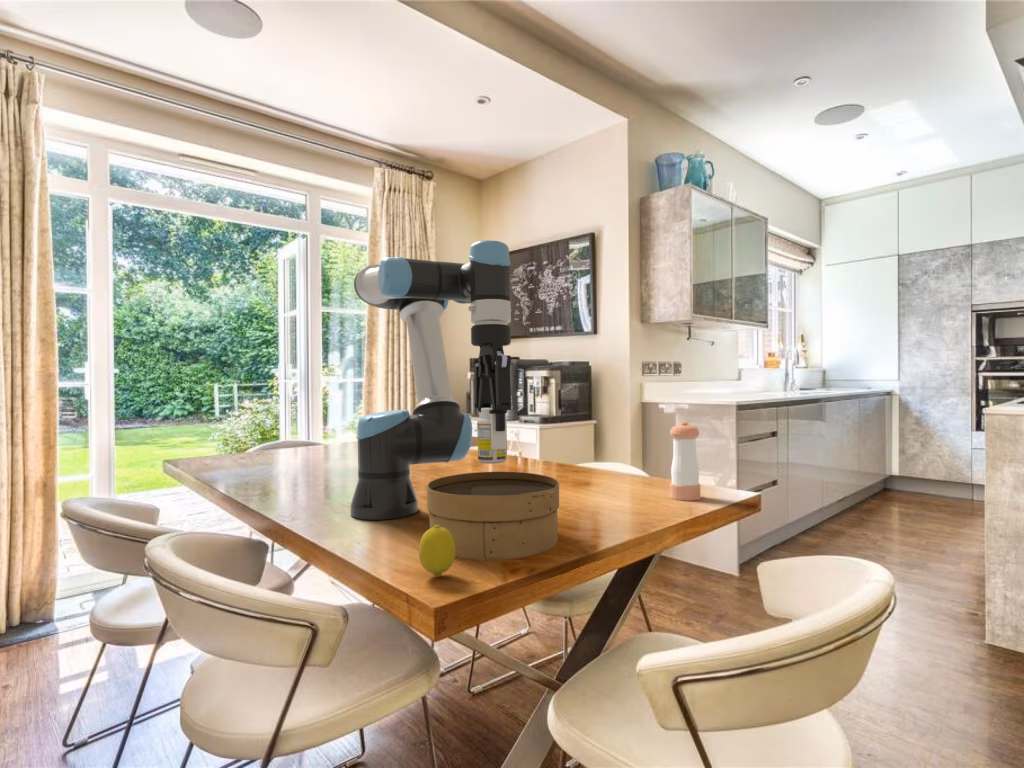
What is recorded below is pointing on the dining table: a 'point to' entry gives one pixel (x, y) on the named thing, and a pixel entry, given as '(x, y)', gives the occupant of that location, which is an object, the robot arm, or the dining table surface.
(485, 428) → the supplement bottle
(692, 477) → the pepper shaker
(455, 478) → the steamer basket
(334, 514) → the dining table surface
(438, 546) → the lemon
